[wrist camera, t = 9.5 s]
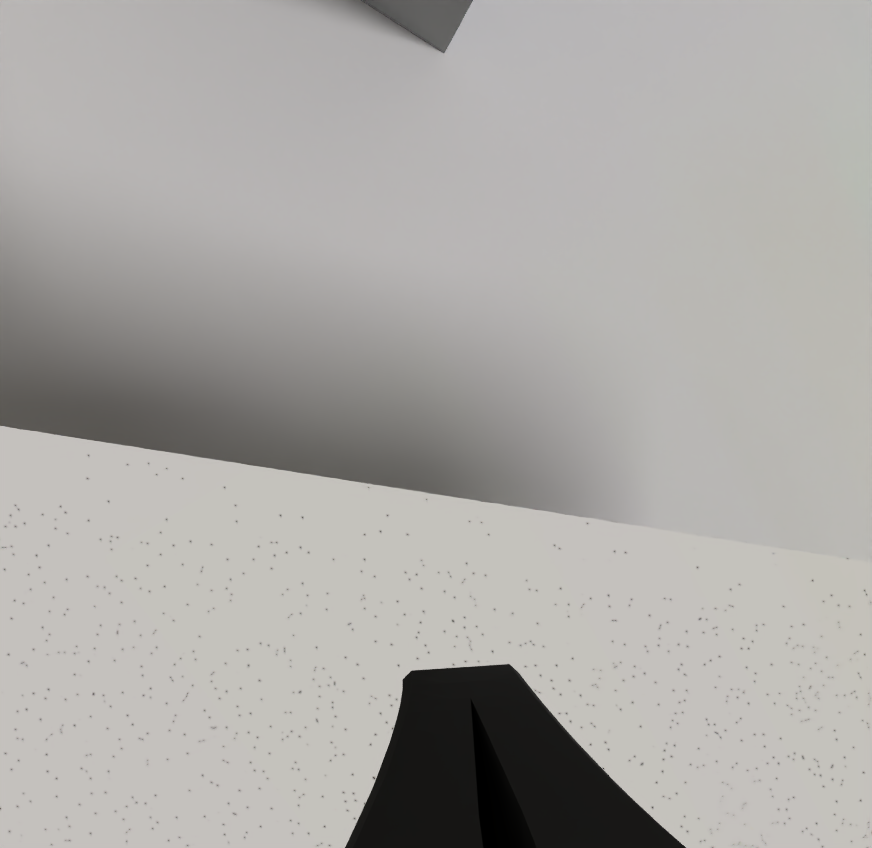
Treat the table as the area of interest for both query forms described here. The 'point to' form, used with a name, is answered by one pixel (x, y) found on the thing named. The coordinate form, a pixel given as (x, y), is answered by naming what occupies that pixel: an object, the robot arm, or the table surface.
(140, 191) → the table surface
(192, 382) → the table surface
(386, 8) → the grey rectangular block
